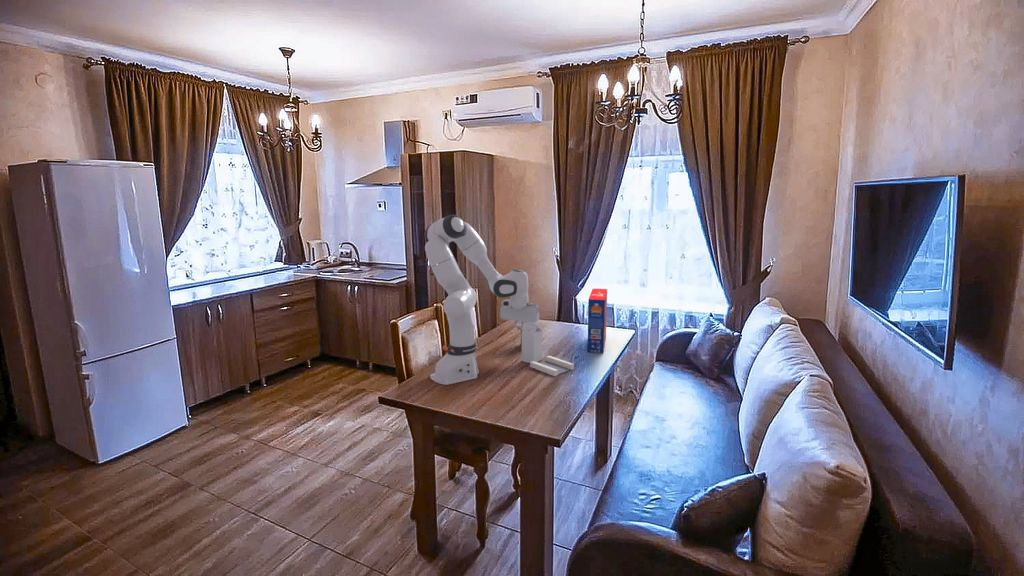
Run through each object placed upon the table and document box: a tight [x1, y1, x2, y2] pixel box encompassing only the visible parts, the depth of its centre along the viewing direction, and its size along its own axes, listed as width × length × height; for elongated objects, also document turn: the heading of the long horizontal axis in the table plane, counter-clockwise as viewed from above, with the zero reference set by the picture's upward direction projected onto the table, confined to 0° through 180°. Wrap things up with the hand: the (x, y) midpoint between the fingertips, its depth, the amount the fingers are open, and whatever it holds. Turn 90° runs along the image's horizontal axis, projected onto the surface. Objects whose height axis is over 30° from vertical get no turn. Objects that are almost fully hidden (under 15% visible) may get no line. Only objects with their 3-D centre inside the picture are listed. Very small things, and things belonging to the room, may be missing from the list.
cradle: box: [529, 355, 575, 377], centre depth 225 cm, size 13×16×2 cm
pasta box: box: [587, 288, 608, 354], centre depth 256 cm, size 28×8×28 cm, turn 166°
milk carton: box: [521, 322, 543, 364], centre depth 233 cm, size 7×7×19 cm
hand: (519, 329), depth 238 cm, fingers closed
